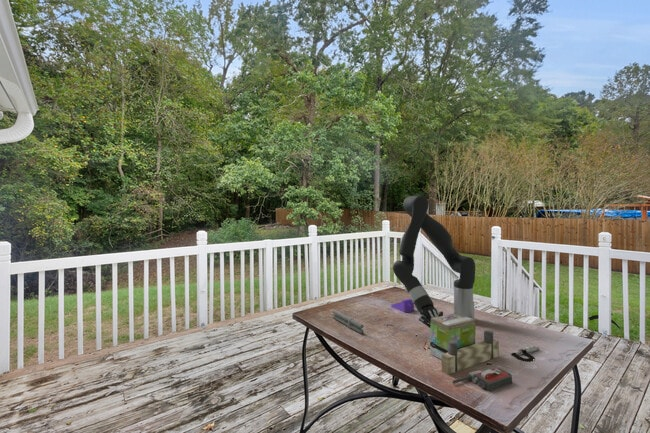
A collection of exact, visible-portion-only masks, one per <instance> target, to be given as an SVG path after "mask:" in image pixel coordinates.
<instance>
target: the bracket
mask: <svg viewBox="0 0 650 433" xmlns="http://www.w3.org/2000/svg"><path fill="white" fill-rule="evenodd" d="M391 307H392V308H393V309H396V310H398V311H401V312H403V313H409V312H413V311H415V305H414V303H413V301H412V299H411V298H406V299H402V300H401V302H396V303H392V304H391V305H390V308H391Z"/></svg>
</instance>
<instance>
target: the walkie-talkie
mask: <svg viewBox="0 0 650 433" xmlns="http://www.w3.org/2000/svg"><path fill="white" fill-rule="evenodd" d="M469 380H470V381H472V383H473V384H476V385H478V386H479V387H480V388H481V389H484V390H486V391H488V392H490V391H494V390H497V389H500V388H503V387H506V386H509V385H512V384H513V375H512V374H511V373H510V372H508V371H506V370H504V369H502V368H500V367H494V368H490V369H485V370H475V371H471V372H470V371H469V372H468V374H467V375H466V376H462V377H459V378H456V379H453V380H452V384H458V383H461V382H464V381H469Z"/></svg>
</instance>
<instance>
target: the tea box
mask: <svg viewBox="0 0 650 433" xmlns="http://www.w3.org/2000/svg"><path fill="white" fill-rule="evenodd" d="M476 322H477V321H476V319H475V318H474V319H472V318H469V317H466V316H463V315H461V314H458V313H454V312H453V313H450V314H445V315H444V314H443V316H440V317H435V318H431V324H430V328H429V330H430V332H429V354H430V355H432V356H434V357H436V359H439V360H441V361H442V354H445V353H448V341H455V342H457V349H460V348H464V347H467V346H470V345H473V344H476V325H477V324H476Z"/></svg>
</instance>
